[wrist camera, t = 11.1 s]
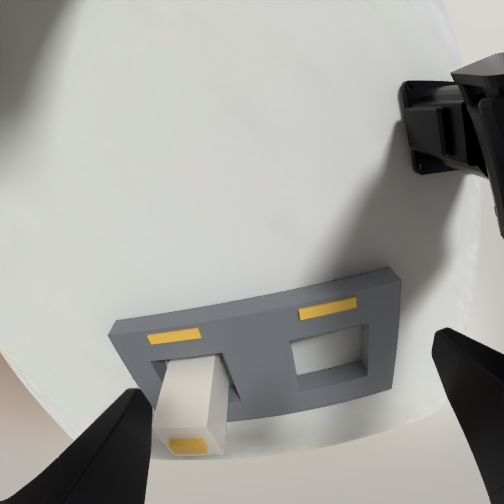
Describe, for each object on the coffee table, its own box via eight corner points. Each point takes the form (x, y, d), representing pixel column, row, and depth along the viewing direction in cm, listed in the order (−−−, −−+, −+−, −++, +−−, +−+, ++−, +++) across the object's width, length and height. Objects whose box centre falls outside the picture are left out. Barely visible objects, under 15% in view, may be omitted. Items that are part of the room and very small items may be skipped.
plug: (216, 347, 24) (205, 434, 16) (229, 379, 25) (224, 461, 17) (171, 352, 24) (148, 435, 16) (187, 383, 26) (172, 462, 18)
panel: (389, 267, 21) (401, 281, 19) (384, 374, 26) (392, 390, 24) (116, 320, 23) (106, 336, 21) (169, 410, 27) (165, 426, 25)
